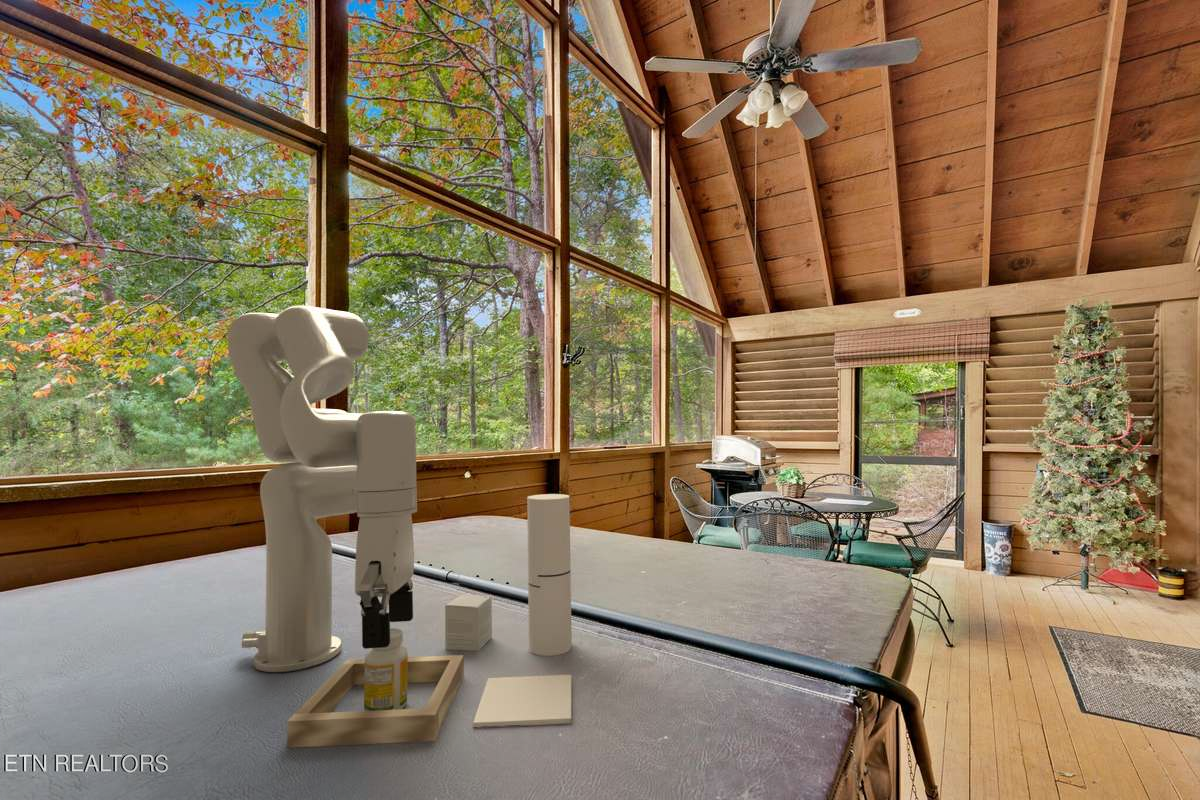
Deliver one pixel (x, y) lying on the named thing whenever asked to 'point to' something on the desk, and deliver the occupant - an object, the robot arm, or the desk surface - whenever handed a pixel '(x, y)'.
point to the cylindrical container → (549, 574)
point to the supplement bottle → (386, 675)
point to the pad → (525, 701)
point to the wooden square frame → (377, 726)
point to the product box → (468, 622)
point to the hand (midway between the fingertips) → (389, 633)
